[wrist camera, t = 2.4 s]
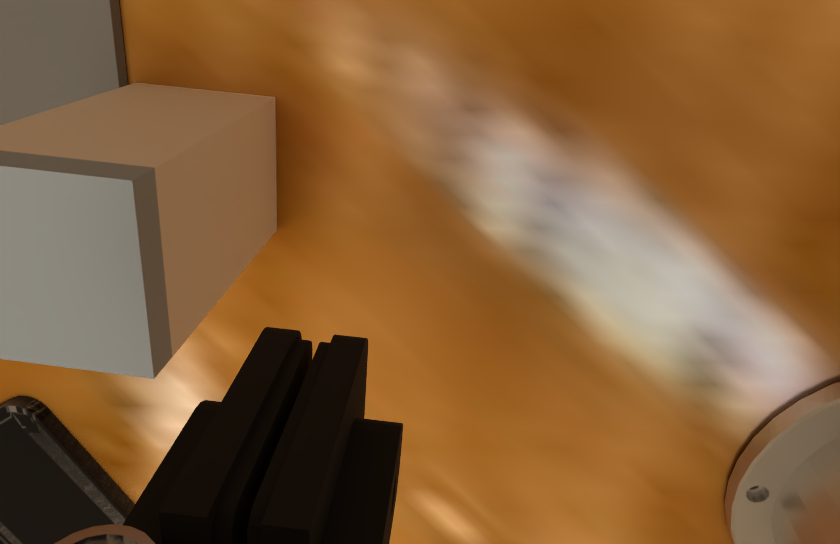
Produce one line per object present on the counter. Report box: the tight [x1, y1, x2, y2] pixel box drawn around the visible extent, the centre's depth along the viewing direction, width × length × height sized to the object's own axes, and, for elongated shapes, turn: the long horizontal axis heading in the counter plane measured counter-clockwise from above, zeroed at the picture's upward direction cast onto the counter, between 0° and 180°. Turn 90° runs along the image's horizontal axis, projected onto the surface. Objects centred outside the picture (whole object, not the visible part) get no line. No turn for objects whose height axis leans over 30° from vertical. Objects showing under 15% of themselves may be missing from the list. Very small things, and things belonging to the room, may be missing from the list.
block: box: [0, 82, 277, 379], centre depth 19 cm, size 5×5×10 cm
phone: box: [0, 396, 135, 544], centre depth 33 cm, size 8×1×15 cm
